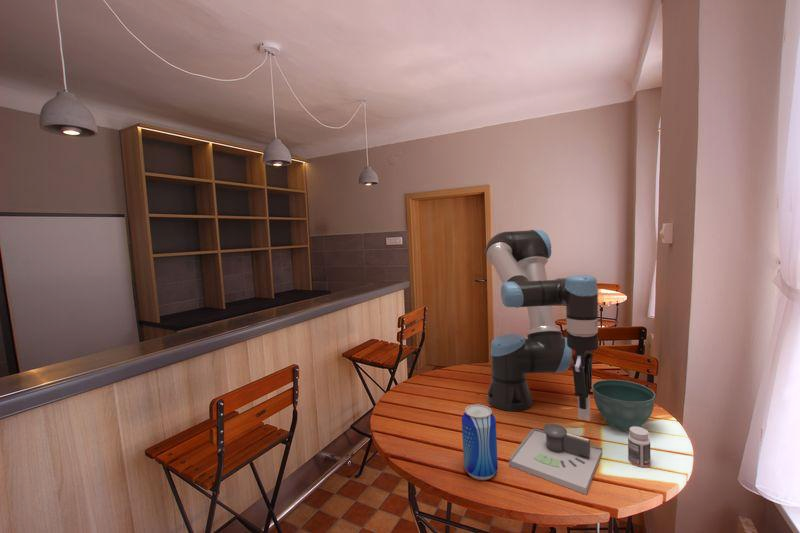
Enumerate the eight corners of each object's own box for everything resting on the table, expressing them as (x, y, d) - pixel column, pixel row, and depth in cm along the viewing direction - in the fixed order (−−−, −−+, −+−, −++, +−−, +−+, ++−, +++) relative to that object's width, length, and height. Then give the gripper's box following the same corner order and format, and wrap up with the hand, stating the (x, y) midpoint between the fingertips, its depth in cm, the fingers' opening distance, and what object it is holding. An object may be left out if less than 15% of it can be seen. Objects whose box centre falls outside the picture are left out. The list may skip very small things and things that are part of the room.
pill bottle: (647, 457, 92) (646, 426, 91) (653, 469, 88) (653, 436, 87) (625, 454, 94) (625, 424, 93) (631, 466, 89) (630, 434, 89)
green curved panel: (532, 459, 91) (532, 459, 91) (543, 443, 98) (543, 442, 98) (581, 476, 84) (581, 475, 84) (589, 457, 91) (589, 456, 91)
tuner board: (509, 465, 92) (508, 458, 92) (533, 433, 106) (533, 427, 106) (586, 494, 80) (585, 486, 80) (602, 454, 94) (601, 447, 94)
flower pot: (581, 421, 111) (580, 387, 110) (611, 406, 119) (611, 375, 118) (636, 445, 97) (636, 407, 96) (666, 427, 105) (666, 392, 104)
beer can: (460, 462, 94) (457, 404, 93) (491, 459, 95) (489, 401, 94) (469, 484, 86) (466, 420, 85) (503, 480, 87) (500, 417, 85)
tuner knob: (540, 448, 95) (540, 430, 95) (547, 438, 100) (547, 421, 100) (587, 463, 88) (586, 444, 88) (592, 452, 93) (591, 433, 92)
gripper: (592, 340, 88) (594, 433, 89) (603, 329, 98) (604, 412, 99) (560, 337, 93) (562, 424, 94) (573, 326, 103) (575, 405, 104)
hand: (584, 418), depth 97 cm, fingers closed
